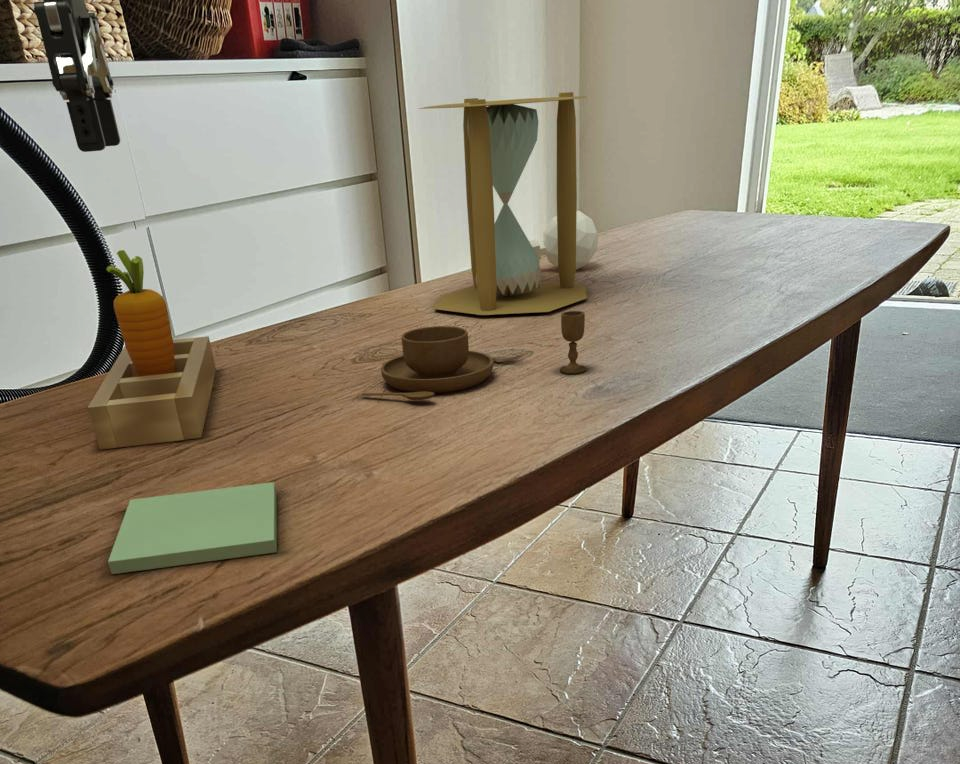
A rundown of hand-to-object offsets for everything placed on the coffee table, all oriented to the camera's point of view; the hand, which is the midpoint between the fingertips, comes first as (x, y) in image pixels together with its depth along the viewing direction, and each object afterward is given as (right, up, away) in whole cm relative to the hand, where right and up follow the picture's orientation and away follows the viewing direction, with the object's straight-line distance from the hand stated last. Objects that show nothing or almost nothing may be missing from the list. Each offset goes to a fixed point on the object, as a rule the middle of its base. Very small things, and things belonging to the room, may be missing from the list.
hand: (101, 148), depth 81 cm
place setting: (+33, -17, +14) cm, 40 cm away
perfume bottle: (+48, +17, +67) cm, 84 cm away
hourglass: (+39, +4, +48) cm, 62 cm away
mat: (+14, -36, -15) cm, 42 cm away
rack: (+1, -20, +13) cm, 24 cm away
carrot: (+1, -20, +13) cm, 24 cm away
